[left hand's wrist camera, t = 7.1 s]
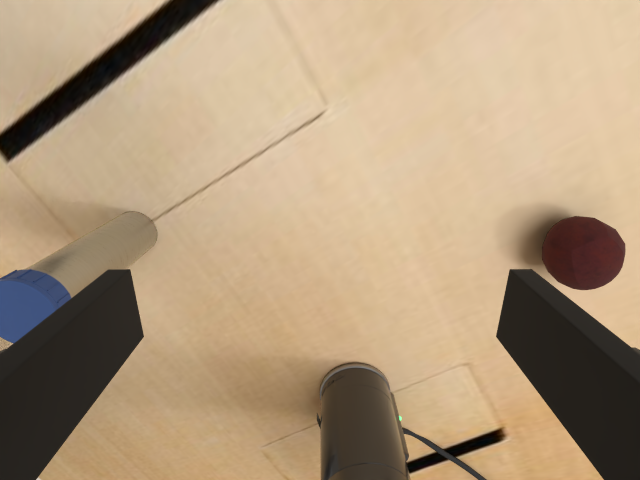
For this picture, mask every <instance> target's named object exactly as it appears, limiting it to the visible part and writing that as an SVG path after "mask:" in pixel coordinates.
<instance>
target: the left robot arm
mask: <svg viewBox="0 0 640 480" xmlns="http://www.w3.org/2000/svg"><path fill="white" fill-rule="evenodd" d="M143 337H144V335H143V330H142V325H141V320H140V315H139V310H138V305H137V300H136V296H135V291H134V286H133V281H132V276H131V271H130V269H108V270H107V271H105V272H104V273H103V274H102V275H100V276H99V277H98V278H97V279H95V280H94V281H93V282H91V283H90V284H89V285H88V286H86V287H85V288H84V289H83V290H81V291H80V292H79V293H77V294H76V295H75V296H74V297H72V298H71V299H70V300H69V301H67V302H66V303H65V304H63V305H62V306H61V307H60V308H58V309H57V310H56V311H55V312H53V313H52V314H51V315H49V316H48V317H47V318H46V319H44V320H43V321H42V322H41V323H39V324H38V325H37V326H35V327H34V328H33V329H32V330H30V331H29V332H28V333H27V334H25V335H24V336H23V337H21V338H20V339H19V340H18V341H16V342H15V343H14V344H13V345H11V346H10V347H9V348H7V349H4V350H2V351H0V480H36V479H37V478H38V476H39V475H40V474H41V472H42V471H43V470H44V468H45V467H46V466H47V464H48V463H49V462H50V460H51V459H52V458H53V456H54V455H55V454H56V452H57V451H58V450H59V448H60V447H61V446H62V444H63V443H64V442H65V441H66V439H67V438H68V437H69V435H70V434H71V433H72V431H73V430H74V429H75V427H76V426H77V425H78V423H79V422H80V421H81V419H82V418H83V417H84V415H85V414H86V413H87V411H88V410H89V409H90V407H91V406H92V405H93V403H94V402H95V401H96V399H97V398H98V397H99V395H100V394H101V393H102V391H103V390H104V389H105V387H106V386H107V385H108V383H109V382H110V381H111V379H112V378H113V377H114V375H115V374H116V373H117V372H118V370H119V369H120V368H121V366H122V365H123V364H124V362H125V361H126V360H127V358H128V357H129V356H130V354H131V353H132V352H133V350H134V349H135V348H136V346H137V345H138V344H139V342H140V341H141V340H142V338H143ZM496 337H497V338H498V340H499V341H500V342H501V344H502V345H503V346H504V348H505V349H506V350H507V352H508V353H509V354H510V356H511V357H512V358H513V360H514V361H515V362H516V364H517V365H518V366H519V368H520V369H521V370H522V372H523V373H524V374H525V375H526V377H527V378H528V379H529V381H530V382H531V383H532V385H533V386H534V387H535V389H536V390H537V391H538V393H539V394H540V395H541V397H542V398H543V399H544V401H545V402H546V403H547V405H548V406H549V407H550V409H551V410H552V411H553V413H554V414H555V415H556V417H557V418H558V419H559V421H560V422H561V423H562V425H563V426H564V427H565V429H566V430H567V431H568V433H569V434H570V435H571V437H572V438H573V439H574V441H575V442H576V443H577V444H578V446H579V447H580V448H581V450H582V451H583V452H584V454H585V455H586V456H587V458H588V459H589V460H590V462H591V463H592V464H593V466H594V467H595V468H596V470H597V471H598V472H599V474H600V475H601V476H602V478H603V479H604V480H640V350H639V349H637V348H631V347H630V346H629V345H627V344H626V343H625V342H624V341H622V340H621V339H620V338H619V337H617V336H616V335H615V334H613V333H612V332H611V331H610V330H608V329H607V328H606V327H605V326H603V325H602V324H601V323H599V322H598V321H597V320H596V319H594V318H593V317H592V316H591V315H589V314H588V313H587V312H585V311H584V310H583V309H582V308H580V307H579V306H578V305H577V304H575V303H574V302H573V301H571V300H570V299H569V298H568V297H566V296H565V295H564V294H563V293H561V292H560V291H559V290H557V289H556V288H555V287H554V286H552V285H551V284H550V283H549V282H547V281H546V280H545V279H543V278H542V277H541V276H540V275H538V274H537V273H536V272H535V271H533V270H532V269H510V271H509V276H508V281H507V286H506V291H505V296H504V300H503V305H502V310H501V315H500V320H499V325H498V330H497V335H496Z"/></svg>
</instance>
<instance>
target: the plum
mask: <svg viewBox="0 0 640 480" xmlns="http://www.w3.org/2000/svg"><path fill="white" fill-rule="evenodd" d="M624 257H625V243H624V242H623V240H622V238H621V237H620V235H619V234H618V232H617V231H616V229H614V228H612V227H610V226H609V225H607V224H605V223H603V222H601V221H599V220H597V219H595V218H590V217H579V216H574V217H571V218H567V219H563V220H561V221H560V222H558V223H557V224H555V225H554V226H553V227H552V228H551V230H550V231H549V232H548V233H547V236H546V238H545V241H544V243H543V247H542V260H543V262H544V264H545V266H546V268H547V270H548V272H549V273H550V274H551V275H552V276H553V277H554V278H555V279H556V280H557V281H558V282H560V283H562V284H564V285H566V286H568V287H570V288H573V289H578V290H590V289H596V288H599V287H601V286H604V285H606V284H607V283H609V282H611V281H612V280H613V279H614V278H615V277H616V276H617V275H618V274H619V272H620V270H621V268H622V266H623V262H624Z"/></svg>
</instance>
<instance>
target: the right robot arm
mask: <svg viewBox="0 0 640 480" xmlns="http://www.w3.org/2000/svg"><path fill="white" fill-rule="evenodd" d="M320 400H321V421H320V419H319V416H318V414H317V421H318V424H319V427H320V429H321V480H411V479H410V475H409V471H408V466H407V462H406V461H407V460H408V458H409V454H408V450H407V446H406V442H405V438H404V434H408V435H411V436H413V437H415V438H417V439H419V440H420V441H422V442H423V443H425V444H426V445H428V446H429V447H431V448H432V449H434V450H435V451H437V452H438V453H440V454H441V455H443V456H444V457H446V458H448V459H449V460H451V461H452V462H454V463H456V464H457V465H459V466H460V467H462V468H463V469H465V470H466V471H468V472H469V473H470V474H472V475H473V476H474V477H476V478H477V479H478V480H486V479H485V478H483V477H482V476H481V475H480V474H478V473H477V472H476V471H474V470H473V469H472V468H470V467H469V466H467V465H466V464H465V463H463V462H462V461H460V460H459V459H457V458H455V457H454V456H452V455H451V454H449V453H447V452H446V451H444V450H443V449H441V448H440V447H438V446H437V445H435V444H434V443H432V442H431V441H429V440H428V439H426V438H424V437H421V436H419V435H417V434H415V433H413V432H411V431H410V430H408V429H402V426H401V422H400V421H401V417H400V416H399V414H398V410H397V406H396V402H395V398H394V395H393V394H392V393H391V392H390V388H389V384H388V381H387V379H386V377H385V376H384V374H383V373H382V372H380V371H379V370H378V369H376V368H374V367H372V366H370V365H367V364H361V363H350V364H345V365H342V366H339V367H337V368H335V369H333V370H332V371H331V372H329V373H328V374H327V375H326V377H325V378H324V379H323V381H322V383H321V387H320Z"/></svg>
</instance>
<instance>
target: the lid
mask: <svg viewBox="0 0 640 480" xmlns="http://www.w3.org/2000/svg"><path fill="white" fill-rule="evenodd" d="M70 299H71V296H70V293H69V292H68V291H67V289H66V288H65V287H64V286H63V285H62V284H61V283H60V282H59V281H58V280H56V279H55V278H54V277H52V276H50V275H48V274H47V273H43V272H40V271H36V270H32V269H29V270H18V271H17V270H15V271H13V272H11V273H9V274H8V275H6V276H4V277H2V278H0V337H1V338H3V339H5V340H7V341H9V342H12V343H15V342H16V341H18V340H19V339H20V338H21V337H23V336H24V335H25V334H27V333H28V332H29V331H30V330H32V329H33V328H34V327H35V326H37V325H38V324H39V323H41V322H42V321H43V320H44V319H46V318H47V317H48V316H49V315H51V314H52V313H53V312H55V311H56V310H57V309H58V308H60V307H61V306H62V305H63V304H65V303H66V302H67V301H69V300H70Z"/></svg>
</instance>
